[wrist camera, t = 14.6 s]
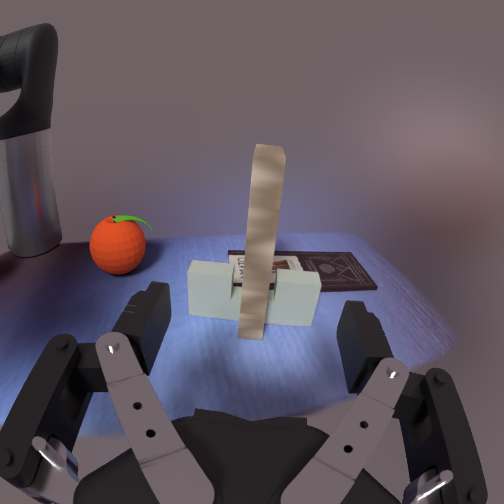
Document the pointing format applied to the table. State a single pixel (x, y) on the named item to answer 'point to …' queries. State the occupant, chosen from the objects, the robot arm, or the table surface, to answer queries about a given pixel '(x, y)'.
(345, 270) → the chocolate bar
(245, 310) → the tapered block
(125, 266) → the clementine
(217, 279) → the slotted rail
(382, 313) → the table surface
